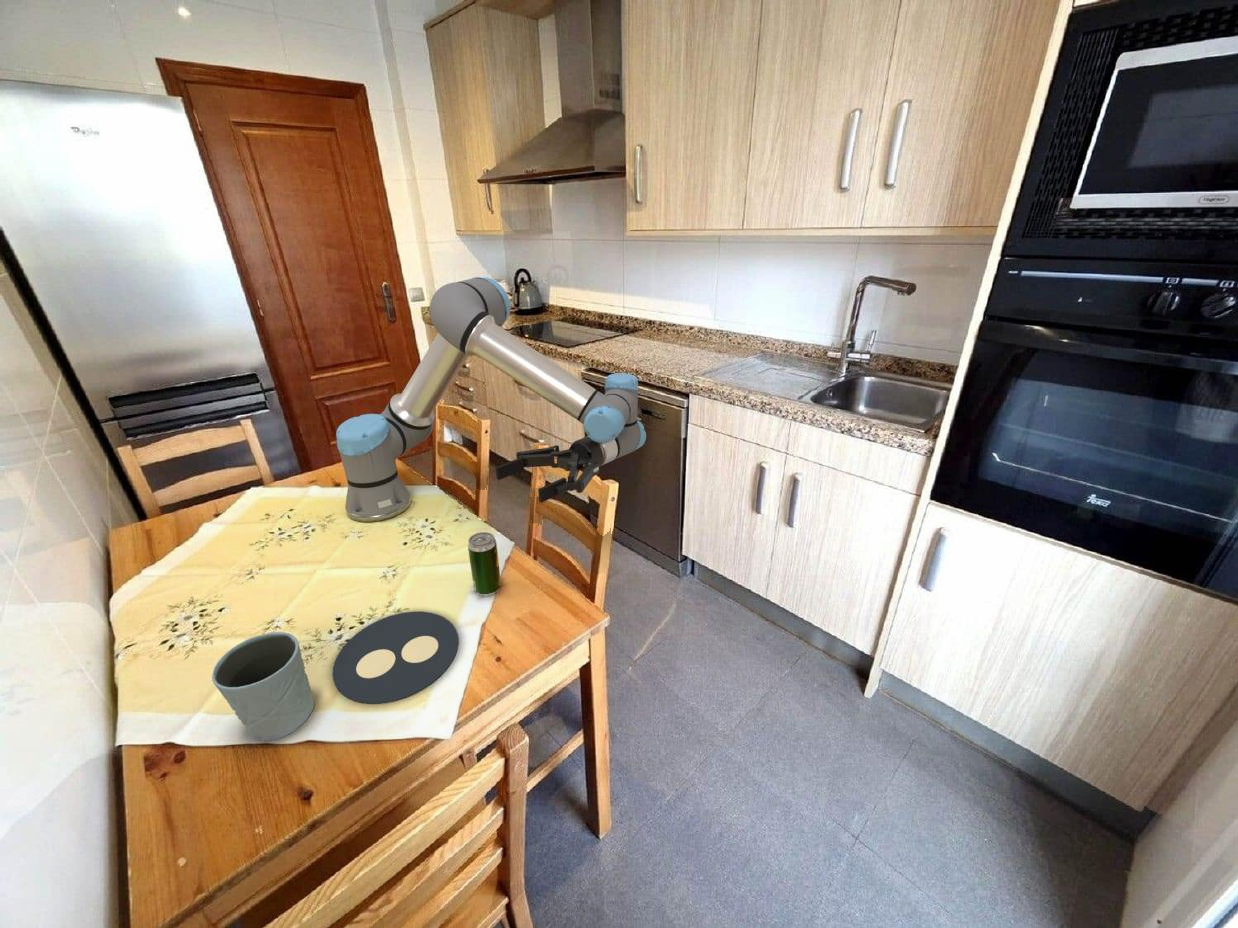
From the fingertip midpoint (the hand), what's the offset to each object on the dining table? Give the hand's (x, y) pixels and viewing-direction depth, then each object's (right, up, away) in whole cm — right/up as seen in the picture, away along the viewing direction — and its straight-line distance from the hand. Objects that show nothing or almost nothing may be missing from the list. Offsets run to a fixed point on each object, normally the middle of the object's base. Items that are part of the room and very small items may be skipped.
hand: (517, 484), depth 99 cm
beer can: (-6, -21, +3) cm, 23 cm away
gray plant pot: (-31, -34, -24) cm, 52 cm away
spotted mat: (-18, -29, -13) cm, 36 cm away
